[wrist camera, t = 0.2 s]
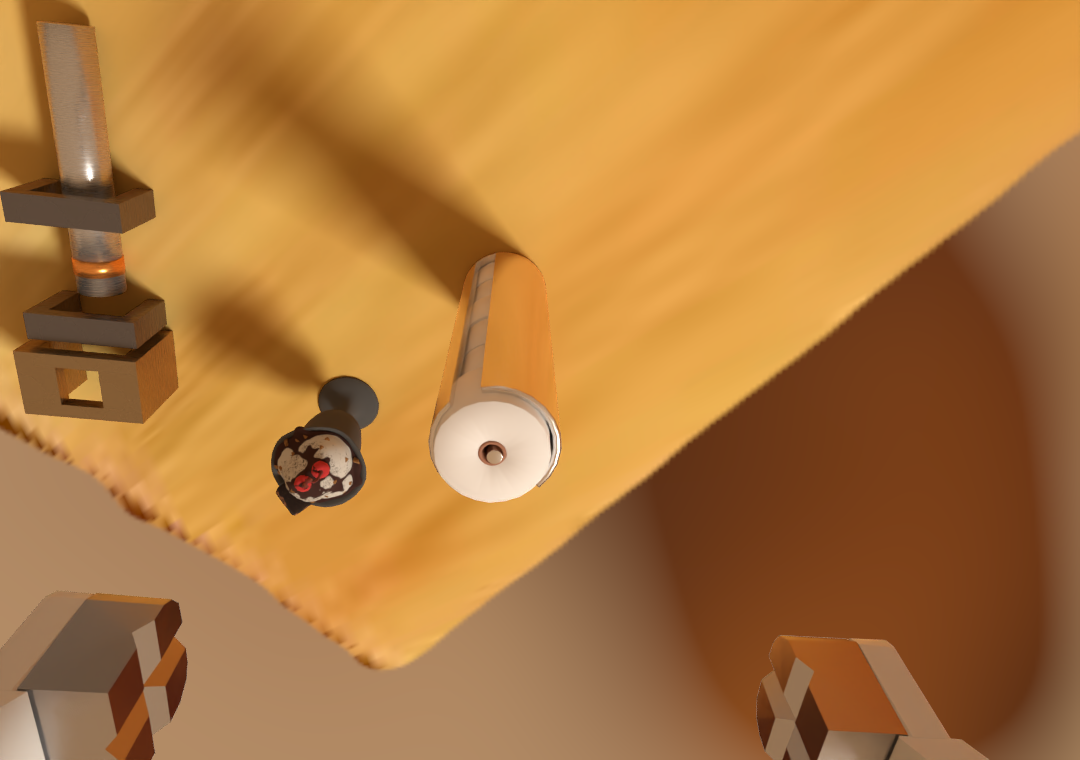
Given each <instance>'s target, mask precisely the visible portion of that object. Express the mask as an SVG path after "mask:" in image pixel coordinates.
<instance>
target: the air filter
mask: <svg viewBox="0 0 1080 760" xmlns="http://www.w3.org/2000/svg"><path fill="white" fill-rule="evenodd" d="M429 449H430V456H431V459H432V461H433V463H434V466H435V468H436V470H437V472H438V473H439V474H440V476H441V477H442V478H443V479H444V480H445V481H446V482H447V483H448V484H449V486H451V487H452V488H453V489H455V490H456V491H457V492H459V493H460V494H461V495H464V496H466V497H469V498H471V499H474V500H478V501H484V502H489V503H491V502H501V501H507V500H510V499H514V498H517V497H520V496H521V495H523V494H525V493H526V492H528V491H530V490H531V489H532V488H533V487H534V486H535V485H537V486H538V487H540V486H541V485H542V484H543V483H544V482H545V481H546V480H547V479H548V478H549V477H550V476H551V474H552V472H553V471H554V469H555V467H556V466H557V464H558V461H559V457H560V453H561V449H562V448H561V432H560V422H559V412H558V402H557V392H556V382H555V372H554V362H553V352H552V342H551V332H550V322H549V312H548V302H547V292H546V284H545V281H544V278H543V275H542V274H541V272H540V271H539V269H538V268H537V266H536V265H535V264H533V263H532V262H531V261H530V260H529V259H527V258H525V257H523V256H521V255H519V254H515V253H510V252H497V253H493V254H490V255H487V256H485V257H483V258H482V259H480V260H479V261H477V262H476V263H475V264H474V265H473V267H472V268H471V269H470V270H469V272H468V274H467V276H466V278H465V281H464V285H463V290H462V294H461V298H460V303H459V307H458V311H457V316H456V320H455V324H454V329H453V333H452V337H451V342H450V346H449V350H448V355H447V359H446V363H445V368H444V372H443V376H442V381H441V385H440V390H439V394H438V398H437V403H436V407H435V411H434V416H433V420H432V424H431V429H430V435H429Z"/></svg>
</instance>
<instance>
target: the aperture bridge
mask: <svg viewBox="0 0 1080 760" xmlns="http://www.w3.org/2000/svg"><path fill="white" fill-rule="evenodd" d="M13 354H14V359H15V364H16V369H17V374H18V379H19V384H20V389H21V394H22V399H23V404H24V409H25V413H26V414H37V415H49V416H60V417H72V418H83V419H95V420H106V421H118V422H129V423H141V424H143V423H144V422H145V421H146V420H147V419H148V418H149V417H150V416H151V415H152V414H153V413H154V412H155V411H156V410H157V409H158V408H159V407H160V406H161V405H162V404H163V403H164V402H165V401H166V400H167V399H168V398H169V397H170V396H171V395H172V394H173V393H174V392H175V391H176V390H177V389H178V380H177V370H176V360H175V350H174V340H173V331H168V330H159V331H158V332H157V333H156V334H155V335H153V336H152V337H151V338H150V339H148V340H147V341H146V342H145V343H143V344H142V345H141V346H140V347H139V348H137V349H132V350H131V351H130V352H128V353H127V354H126V355H117V354H106V353H95V352H85V351H83V349H82V344H79V343H68V342H58V341H47V340H36V339H31V340H30V341H28V342H27V343H25V344H23V345H22V346H20V347H19V348H17V349H15V350H14V351H13ZM86 370H88V371H98V373H99V380H100V386H101V393H102V400H103V402H101V401H90V400H78V399H69V396H68V394H69V393H71V392H72V391H73V390H75V389H76V388H77V387H78V386H80V385H81V384H82V383H83V382H85V381H86V380H87V375H86Z"/></svg>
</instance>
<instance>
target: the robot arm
mask: <svg viewBox="0 0 1080 760" xmlns="http://www.w3.org/2000/svg"><path fill="white" fill-rule="evenodd" d="M181 624H182V618H181V612H180V607H179V603H178V602H176V601H174V600H172V599H161V598H148V597H137V596H125V595H113V594H101V593H96V594H89V593H77V592H67V591H56V592H54V593H52V594H50V595H48V596H46V597H45V598H44V599H43V600H42V601H41V602H40V604H39V605H38V606H37V607H36V608H35V609H34V611H33V612H32V613H31V614H30V615H29V616H28V617H27V619H26V620H25V621H24V622H23V623H22V625H21V626H20V627H19V628H18V629H17V630H16V632H15V633H14V634H13V635H12V636H11V637H10V639H9V640H8V641H7V642H6V643H5V644H4V646H3V647H2V648H1V649H0V760H151V759H152V757H153V756H154V754H155V749H154V743H153V737H152V735H153V734H155V733H156V732H157V731H159V730H160V729H162V728H163V727H164V726H166V725H167V724H168V723H170V722H171V720H172V718H173V716H174V714H175V712H176V710H177V708H178V706H179V704H180V701H181V698H182V694H183V690H184V686H185V683H186V678H187V663H188V662H187V653H186V648H185V647H184V646H183V645H182V644H181V643H180V642H179V641H178V640H177V639H176V638H175V637H174V636H175V634H176V633H177V631H178V629H179V627H180V626H181ZM769 658H770V660H771V663H772V665H773V668H774V670H773V671H772V672H771V673H770V674H768V675H767V676H766V677H765V678H763V679H762V680H761V684H760V688H759V692H758V696H757V723H758V729H759V735H760V738H761V741H762V744H763V747H764V750H765V752H766V753H767V754H768V755H769V756H770V757H771V758H772V759H773V760H989V759H987V758H986V757H984V756H983V755H982V754H980V753H979V752H978V751H976V750H975V749H973V748H972V747H971V746H970V745H968V744H967V743H965V742H964V741H963V740H961V739H950V737H949V735H948V734H947V732H946V731H945V729H944V728H943V726H942V724H941V723H940V721H939V719H938V718H937V716H936V714H935V713H934V711H933V710H932V708H931V706H930V705H929V703H928V702H927V700H926V698H925V697H924V695H923V693H922V692H921V690H920V689H919V687H918V685H917V684H916V682H915V680H914V679H913V677H912V676H911V674H910V673H909V671H908V669H907V668H906V666H905V665H904V663H903V661H902V659H901V658H900V656H899V655H898V653H897V652H896V650H895V648H894V647H893V646H892V645H891V644H890V643H888V642H887V641H886V640H871V639H849V640H847V639H842V638H823V637H803V636H784V635H779V636H778V637H777V639H776V640H775V641H774V642H773V645H772V649H771V651H770V654H769Z"/></svg>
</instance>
